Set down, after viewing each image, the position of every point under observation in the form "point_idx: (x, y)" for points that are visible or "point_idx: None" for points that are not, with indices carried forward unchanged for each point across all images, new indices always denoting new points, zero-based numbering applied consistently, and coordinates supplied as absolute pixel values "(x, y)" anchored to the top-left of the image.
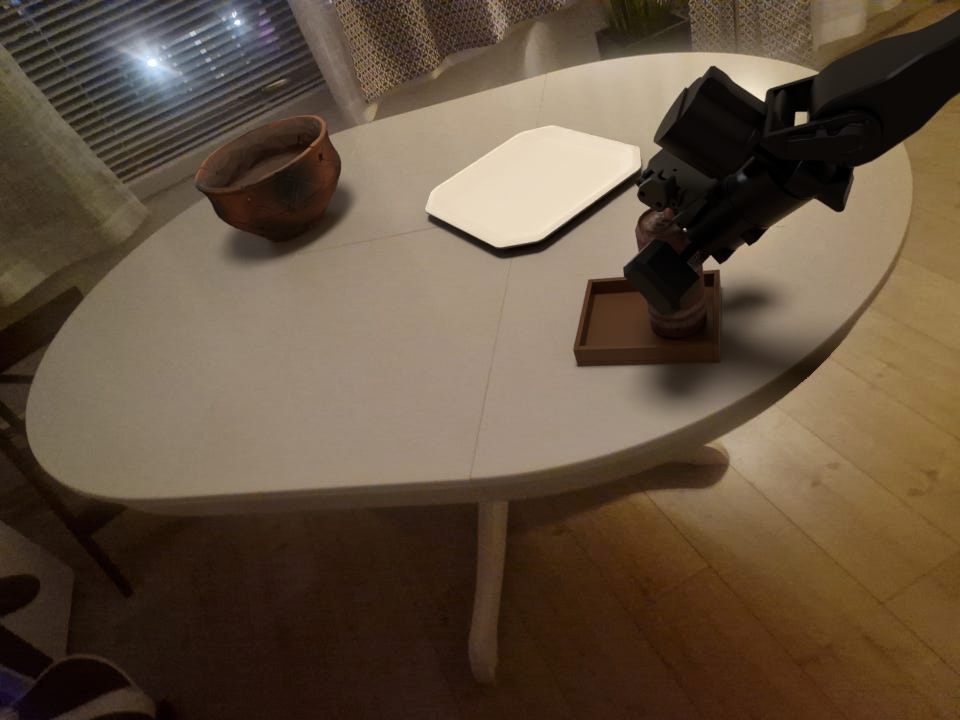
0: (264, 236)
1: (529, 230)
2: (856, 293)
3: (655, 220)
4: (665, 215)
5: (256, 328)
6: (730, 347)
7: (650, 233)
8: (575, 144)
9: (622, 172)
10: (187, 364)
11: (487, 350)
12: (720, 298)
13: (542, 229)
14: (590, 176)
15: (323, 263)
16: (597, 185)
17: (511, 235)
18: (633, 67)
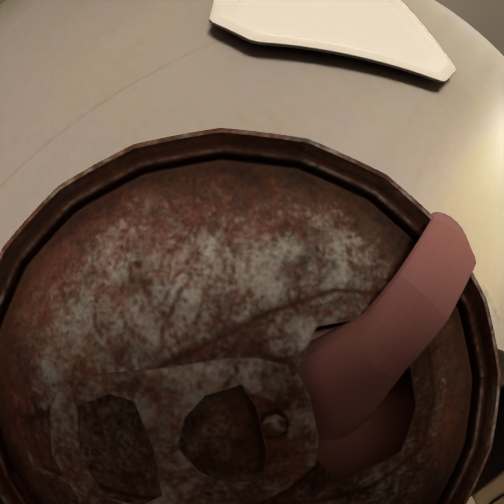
0: None
1: (266, 27)
2: None
3: (189, 316)
4: (331, 337)
5: (46, 7)
6: None
7: (14, 399)
8: (405, 20)
9: (423, 67)
10: (10, 19)
11: (44, 138)
12: None
13: (277, 35)
14: (390, 42)
15: None
16: (388, 52)
17: (244, 20)
18: (484, 42)
